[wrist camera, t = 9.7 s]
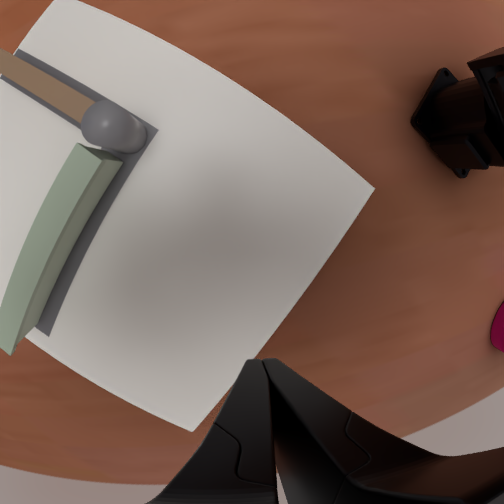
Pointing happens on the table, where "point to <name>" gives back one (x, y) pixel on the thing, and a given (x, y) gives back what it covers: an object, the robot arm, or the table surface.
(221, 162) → the card
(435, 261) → the table surface
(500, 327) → the pepper mill
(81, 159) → the hinged panel
